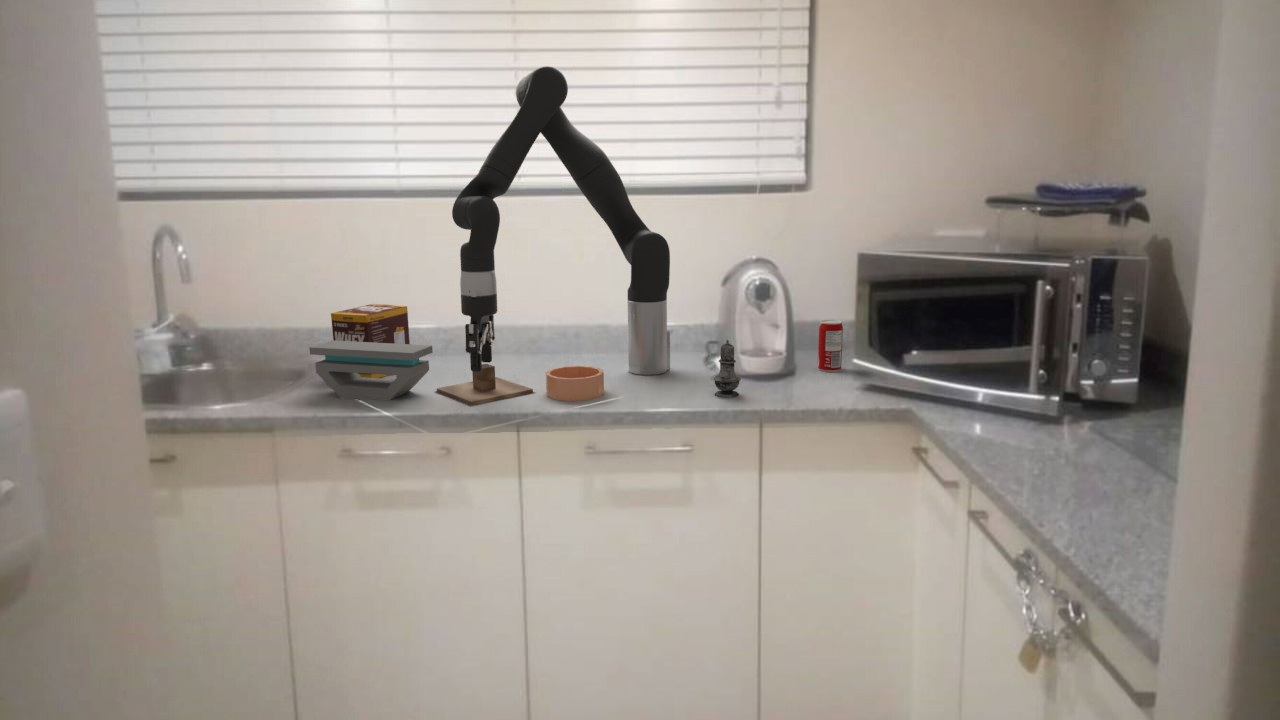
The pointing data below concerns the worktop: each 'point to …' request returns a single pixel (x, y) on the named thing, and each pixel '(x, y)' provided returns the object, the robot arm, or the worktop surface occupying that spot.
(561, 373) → the terracotta bowl
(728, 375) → the salt shaker
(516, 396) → the charcoal mat
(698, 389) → the worktop surface
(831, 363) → the soda can
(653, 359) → the robot arm
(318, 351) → the sharpening stone
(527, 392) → the walnut lid
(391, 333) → the supplement box
